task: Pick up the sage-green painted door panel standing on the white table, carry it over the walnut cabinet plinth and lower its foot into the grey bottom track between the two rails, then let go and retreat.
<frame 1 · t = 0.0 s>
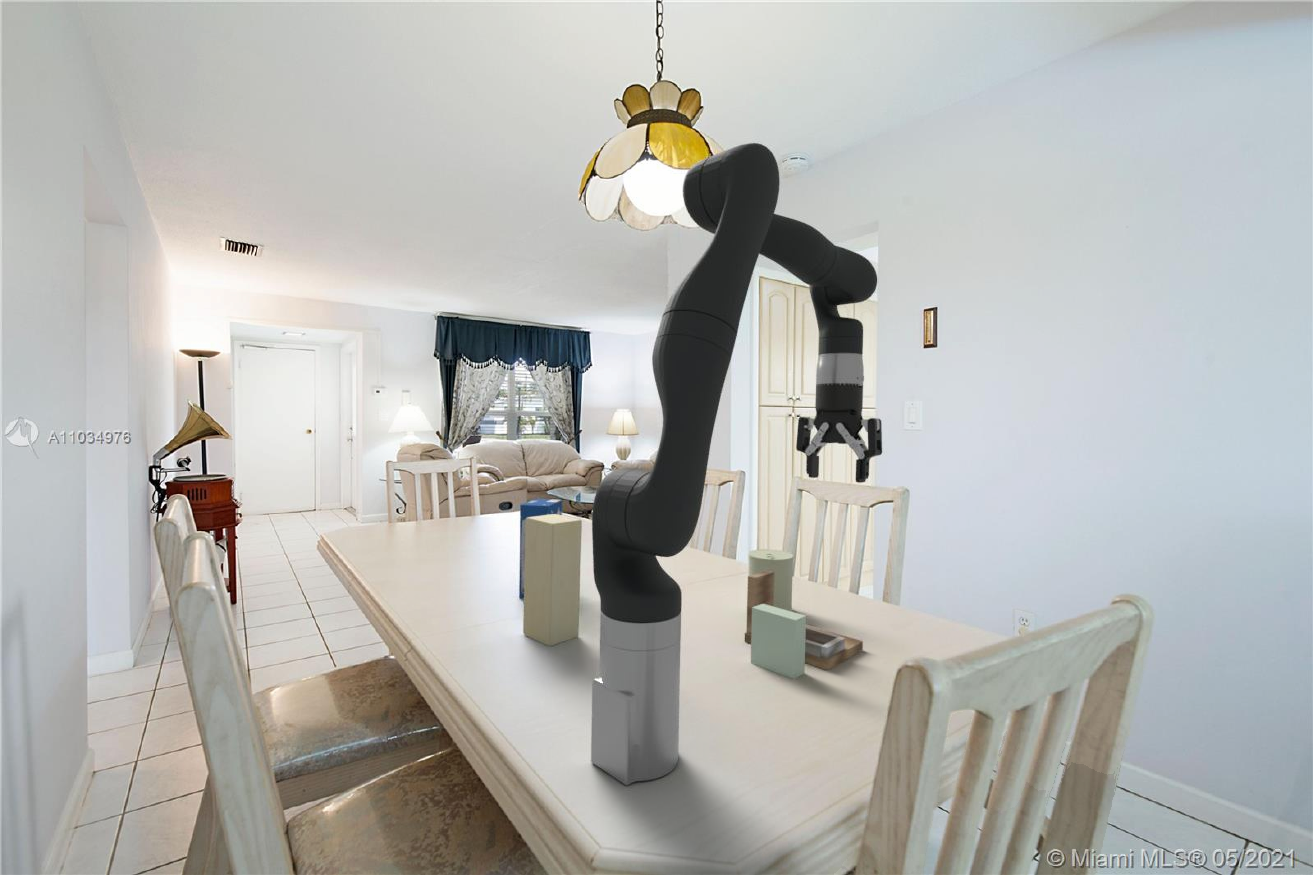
hand: (836, 479, 99), 29 cm above the table, fingers open, 8 cm apart
door panel: (777, 667, 94), on the table
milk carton: (540, 593, 131), on the table
can: (769, 610, 122), on the table
track base: (802, 645, 103), on the table
tall beige block: (553, 636, 105), on the table
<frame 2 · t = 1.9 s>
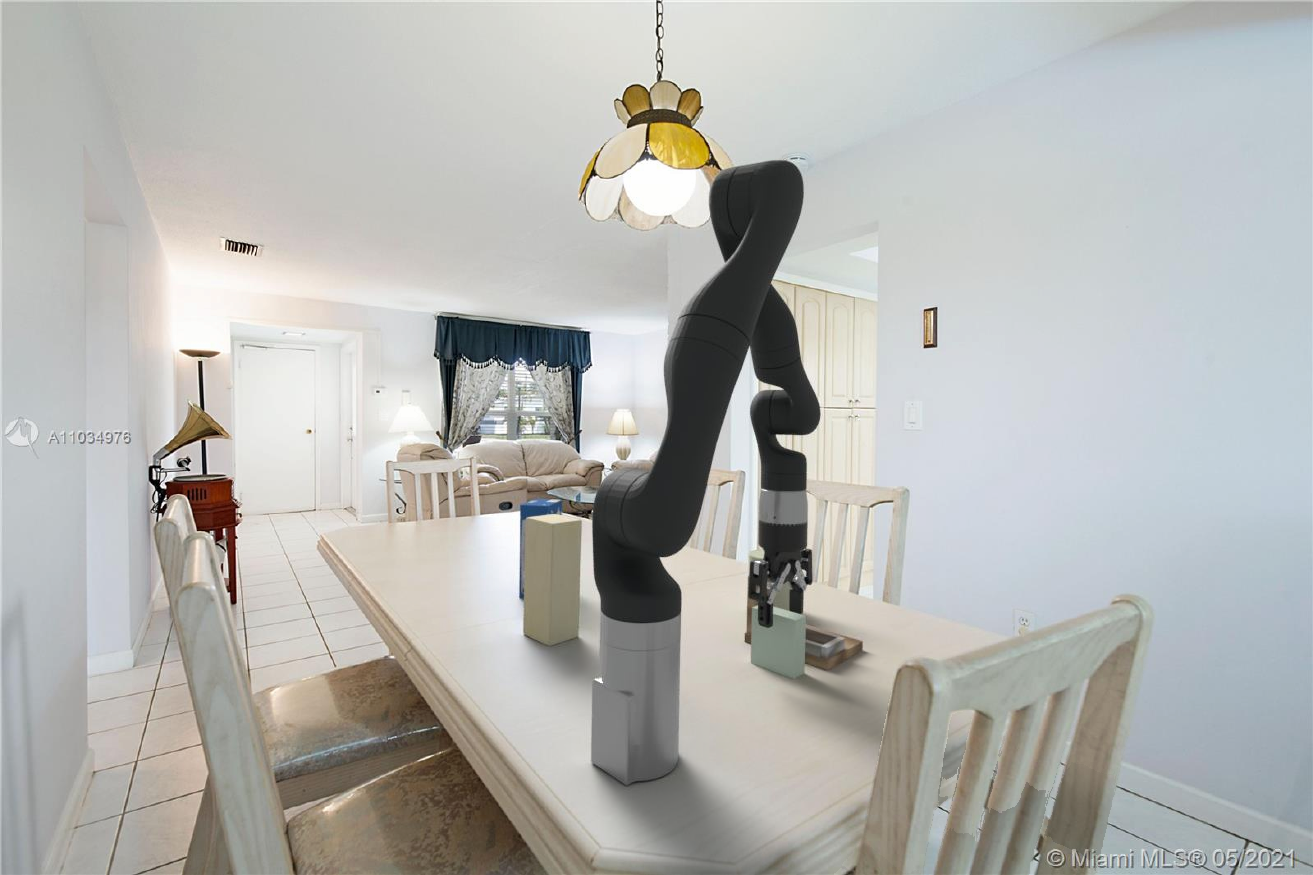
hand: (781, 619, 93), 8 cm above the table, fingers open, 8 cm apart
nothing on the table moved.
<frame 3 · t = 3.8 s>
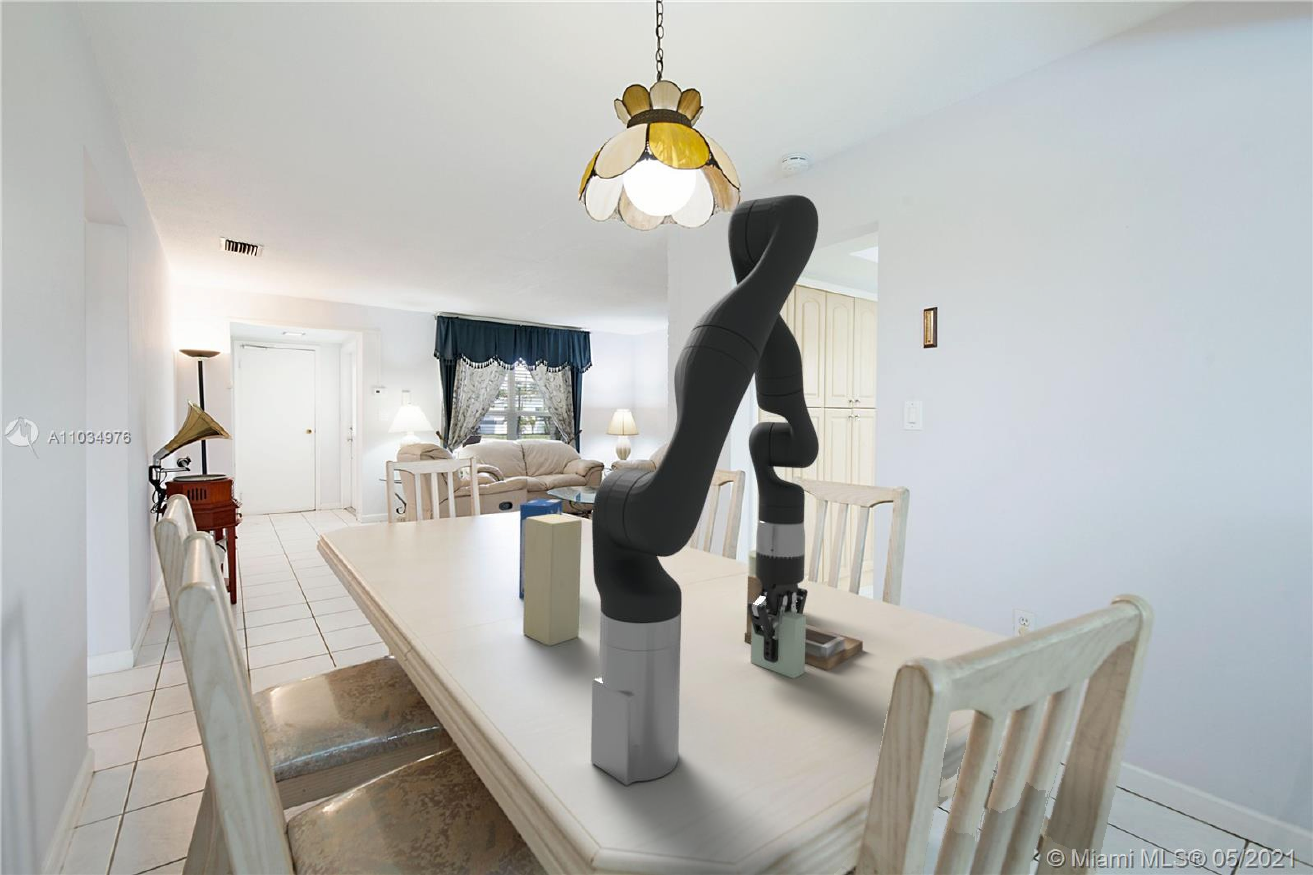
hand: (777, 657, 93), 2 cm above the table, fingers closed on door panel, 3 cm apart
door panel: (777, 667, 94), on the table, touching gripper
everything else where it was.
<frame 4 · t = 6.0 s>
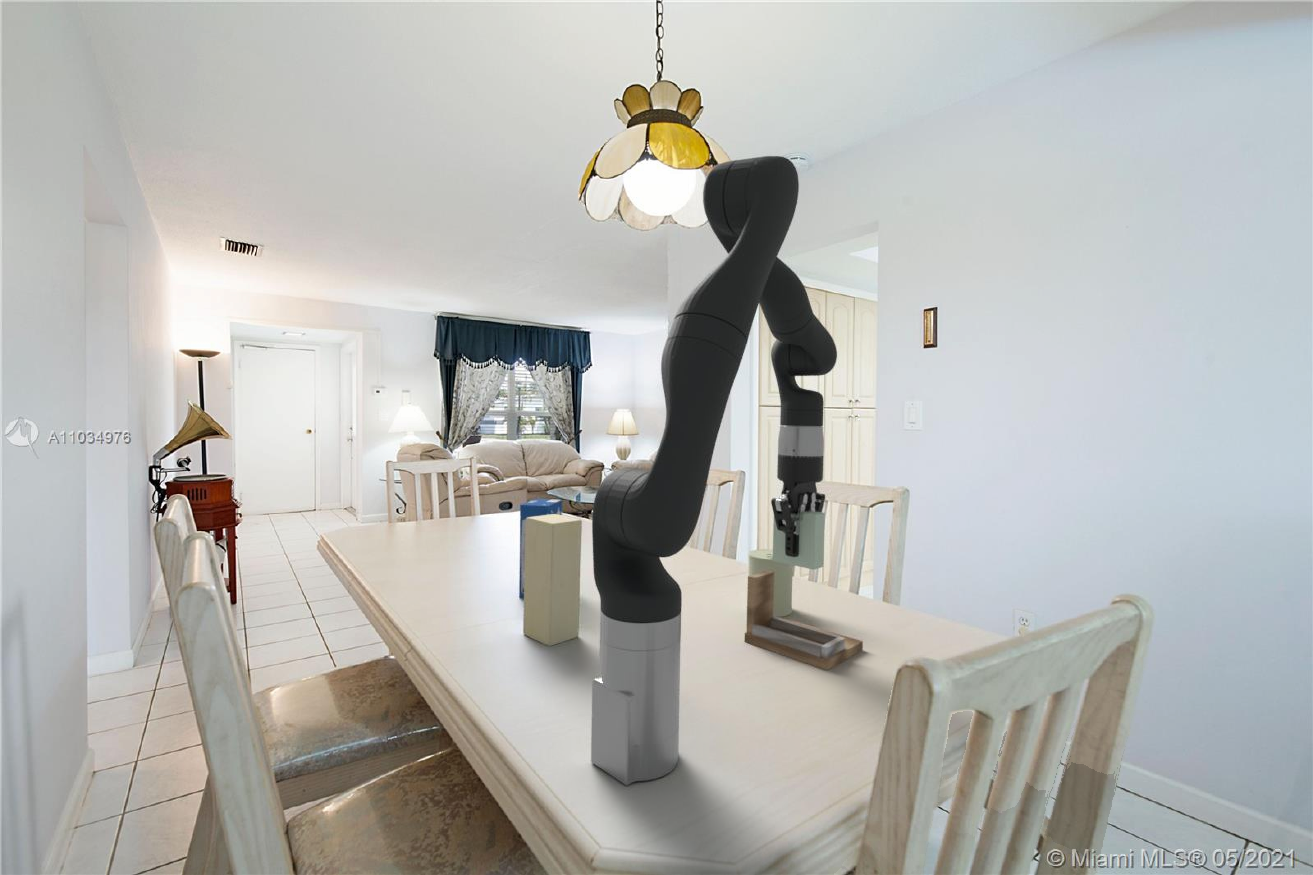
hand: (797, 554, 100), 16 cm above the table, fingers closed on door panel, 3 cm apart
door panel: (797, 563, 100), point 15 cm above the table, touching gripper
everything else where it was.
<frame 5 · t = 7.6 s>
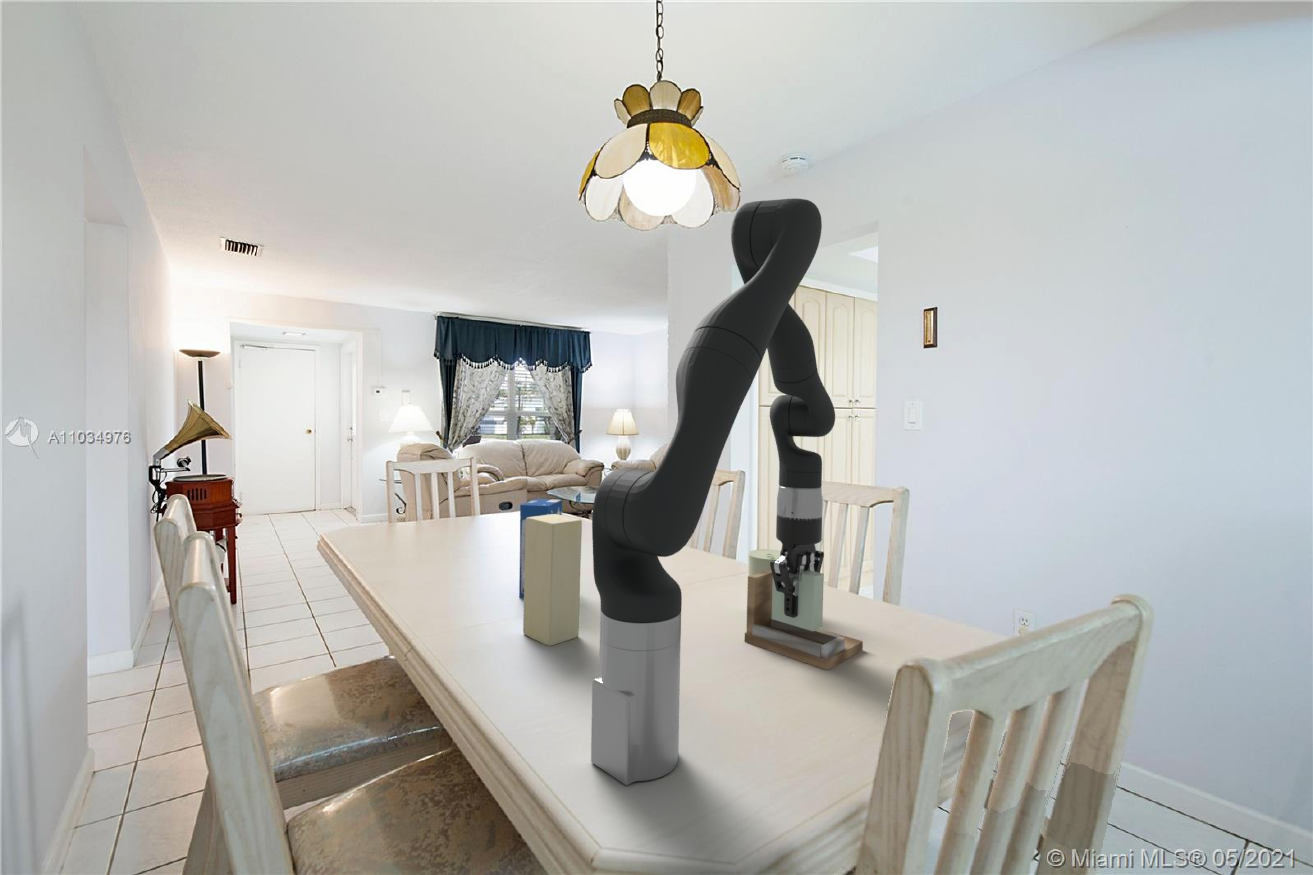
hand: (796, 613, 101), 6 cm above the table, fingers closed on door panel, 3 cm apart
door panel: (796, 622, 101), point 5 cm above the table, touching gripper
everything else where it was.
when the fingers open (4 cm above the table, at t = 8.8 s): door panel stays where it is, resting on track base.
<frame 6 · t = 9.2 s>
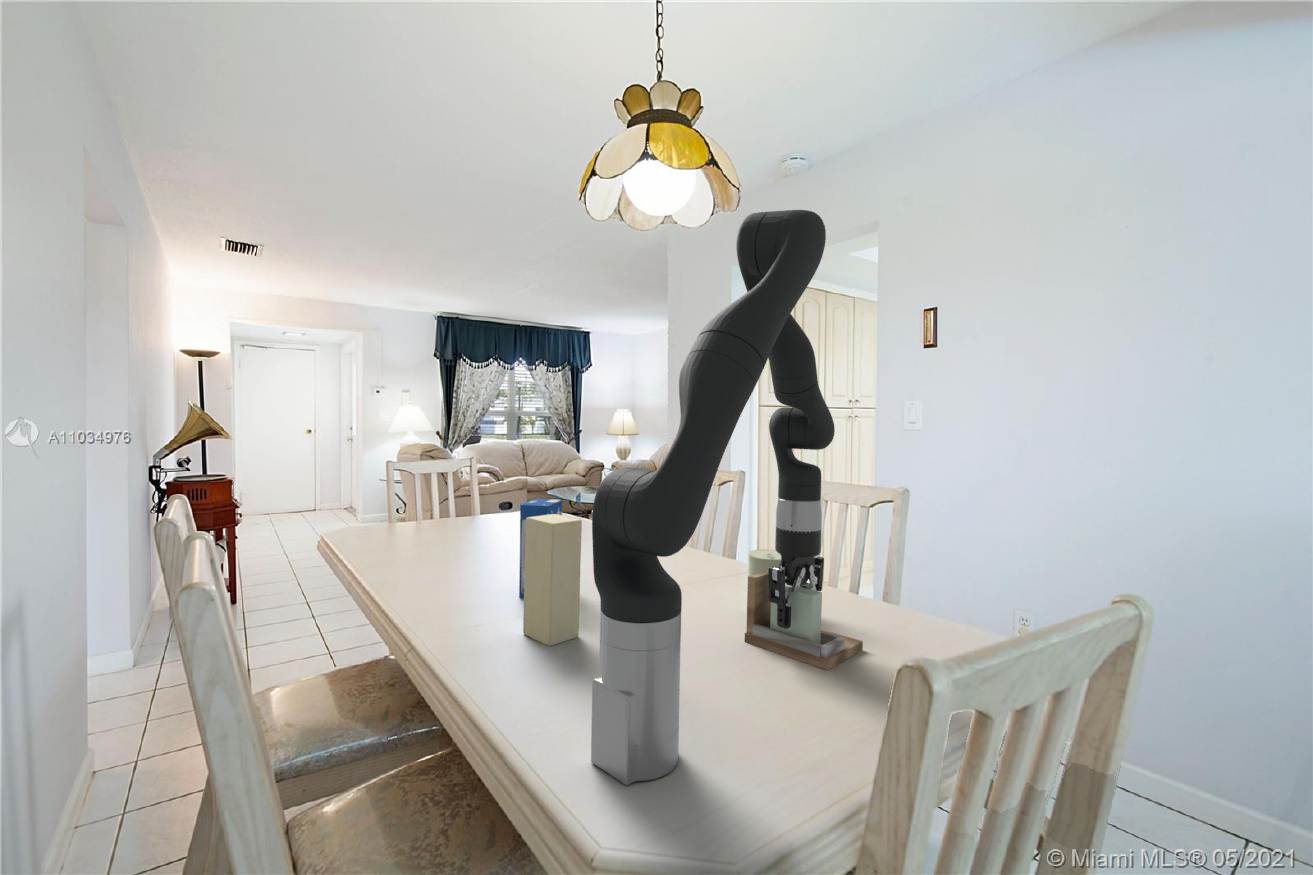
hand: (795, 622, 101), 5 cm above the table, fingers open, 6 cm apart
door panel: (794, 641, 101), point 1 cm above the table, touching track base
everything else where it was.
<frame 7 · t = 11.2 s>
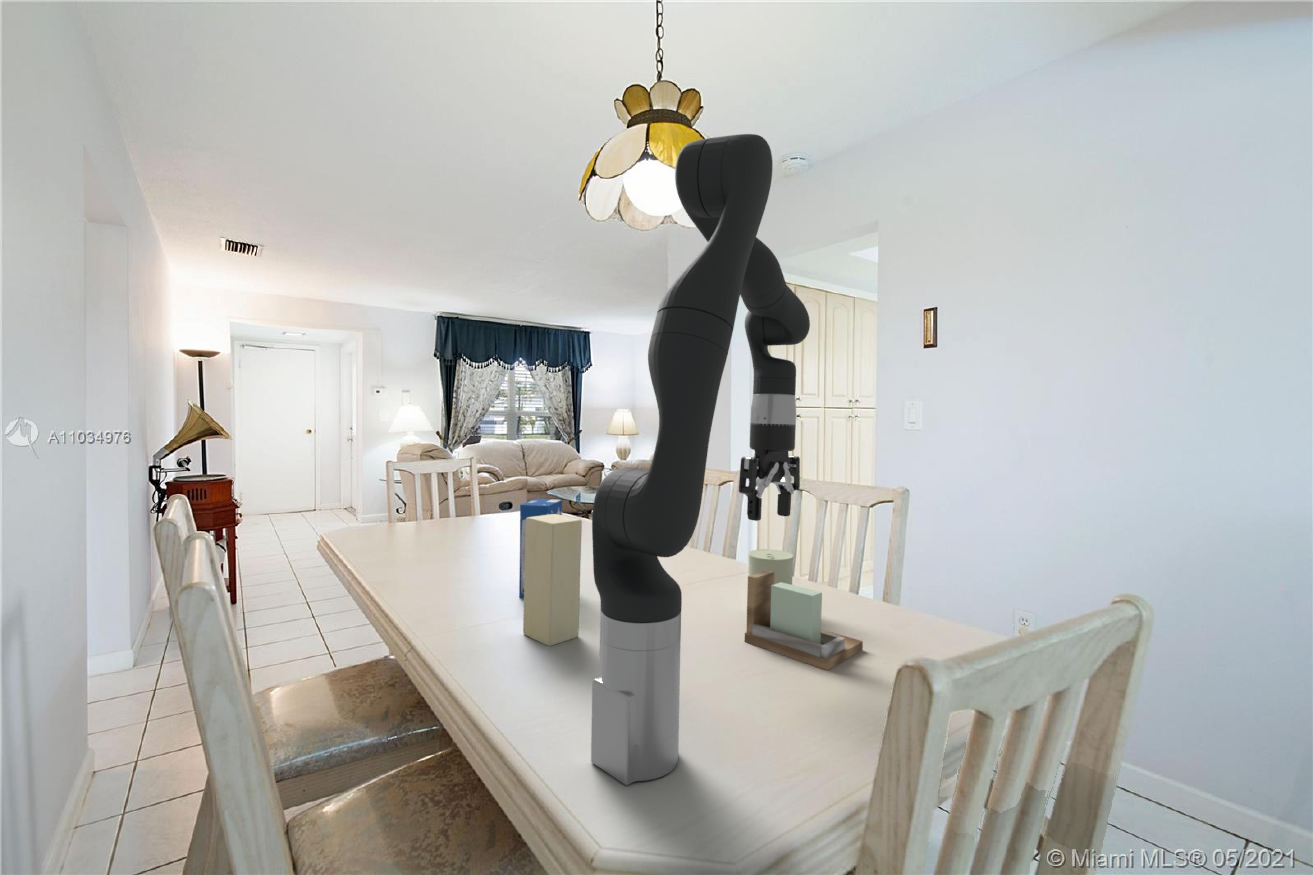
hand: (769, 517, 100), 22 cm above the table, fingers open, 8 cm apart
nothing on the table moved.
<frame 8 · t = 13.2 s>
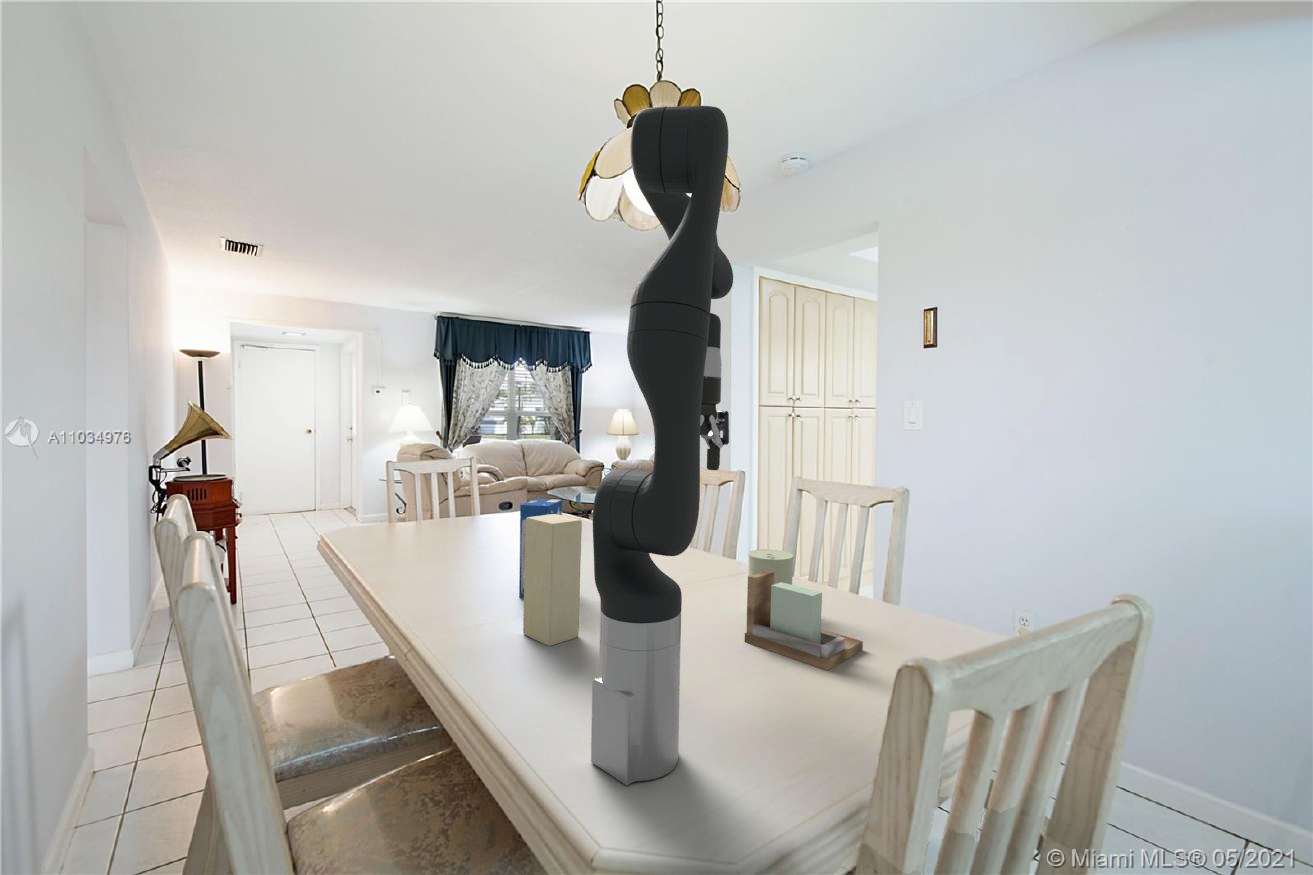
hand: (696, 471, 101), 30 cm above the table, fingers open, 8 cm apart
nothing on the table moved.
at the end: door panel inside the target area on the track base (0.2 cm from its centre), point 1.5 cm above the track base's base; door panel tilted 0°; the gripper is holding nothing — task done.
